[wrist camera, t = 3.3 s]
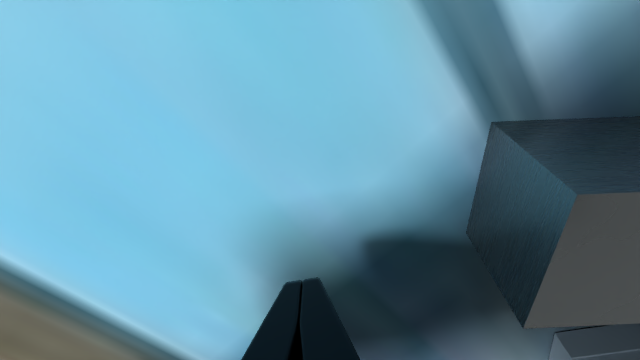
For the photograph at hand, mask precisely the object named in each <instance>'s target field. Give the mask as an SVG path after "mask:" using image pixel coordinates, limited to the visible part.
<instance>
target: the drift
mask: <svg viewBox="0 0 640 360" xmlns="http://www.w3.org/2000/svg"><path fill="white" fill-rule="evenodd" d="M466 234H467V235H468V237H469V239H470V240H471V242H472V244H473V245H474V247H475V249H476V250H477V252H478V254H479V255H480V257H481V259H482V260H483V262H484V264H485V265H486V267H487V269H488V270H489V272H490V274H491V275H492V277H493V279H494V281H495V282H496V284H497V286H498V287H499V289H500V291H501V292H502V294H503V296H504V297H505V299H506V301H507V302H508V304H509V306H510V307H511V309H512V311H513V312H514V314H515V316H516V317H517V319H518V321H519V322H520V324H521V326H522V328H523V329H527V328H549V327H571V326H594V325H616V324H638V323H640V116H635V117H609V118H583V119H556V120H530V121H504V122H491V126H490V131H489V135H488V139H487V144H486V148H485V152H484V157H483V161H482V165H481V170H480V174H479V179H478V183H477V187H476V192H475V196H474V200H473V205H472V209H471V213H470V218H469V222H468V227H467V231H466Z"/></svg>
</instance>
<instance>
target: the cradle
mask: <svg viewBox="0 0 640 360" xmlns="http://www.w3.org/2000/svg"><path fill="white" fill-rule="evenodd" d="M549 360H640V323H638V324H616V325H608V326H601V327H594V328H587V329H580V330H573V331H566V332H559V333H555V334H554V338H553V343H552V347H551V351H550V356H549Z"/></svg>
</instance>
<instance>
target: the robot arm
mask: <svg viewBox="0 0 640 360" xmlns="http://www.w3.org/2000/svg"><path fill="white" fill-rule="evenodd" d="M241 360H360V358H359V356H358V354H357V352H356V350H355V348H354V346H353V344H352V342H351V340H350V338H349V336H348V334H347V332H346V330H345V328H344V326H343V324H342V322H341V320H340V318H339V316H338V314H337V312H336V310H335V308H334V306H333V304H332V302H331V300H330V298H329V296H328V294H327V292H326V290H325V288H324V286H323V284H322V282H321V280H320V279H319V278H311V279H305V280H303V282H302V281H301V280H298V281H292V282H287V283H285V284H284V286H283V288H282V290H281V291H280V293H279V295H278V296H277V298H276V300H275V302H274V303H273V305H272V307H271V309H270V310H269V312H268V314H267V316H266V317H265V319H264V321H263V323H262V324H261V326H260V328H259V330H258V331H257V333H256V335H255V337H254V338H253V340H252V342H251V344H250V345H249V347H248V349H247V351H246V352H245V354H244V356H243V358H242V359H241Z"/></svg>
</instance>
